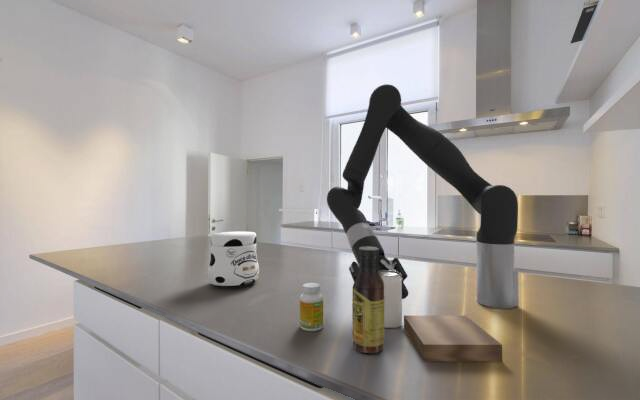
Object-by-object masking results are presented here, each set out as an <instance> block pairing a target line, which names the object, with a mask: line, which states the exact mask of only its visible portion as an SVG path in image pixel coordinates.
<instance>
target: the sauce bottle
mask: <svg viewBox="0 0 640 400" xmlns="http://www.w3.org/2000/svg"><path fill="white" fill-rule="evenodd" d="M358 254H359V270H358V273H357V276H356V279H355V282H354V281H353V284H352V299H351V301H352V306H351V307H352V310H351V311H352V315H351V316H352V318H351V319H352V321H351V322H352V327H351V328H352V329H351V332H352V335H351V336H352V344H353V348H354V349H355V350H357V351H358V352H359V353H362V354H377V353H380V352H382V351H383V349H384V342H385V328H384V298H385V297H384V282H383V279H382V278H381V276H380V274H379V272H378V270H379V267H378V257H379V248H377V247H370V246H365V247H360V248H359V249H358Z"/></svg>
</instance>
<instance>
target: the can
mask: <svg viewBox="0 0 640 400" xmlns="http://www.w3.org/2000/svg"><path fill="white" fill-rule="evenodd" d="M378 272H379V274H380V276H381V278H382V279H383V282H384V297H385V298H384V329H397V328H400V327H401V326H402V324H403V299H402V280H401V278H400V273H399V272H396V271H391V270H381V271H378Z"/></svg>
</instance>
